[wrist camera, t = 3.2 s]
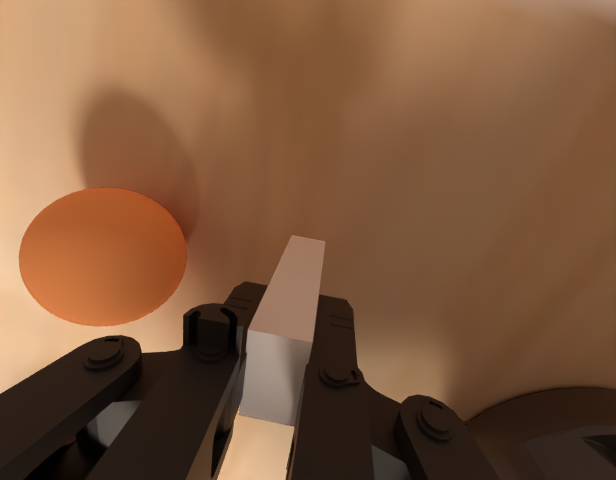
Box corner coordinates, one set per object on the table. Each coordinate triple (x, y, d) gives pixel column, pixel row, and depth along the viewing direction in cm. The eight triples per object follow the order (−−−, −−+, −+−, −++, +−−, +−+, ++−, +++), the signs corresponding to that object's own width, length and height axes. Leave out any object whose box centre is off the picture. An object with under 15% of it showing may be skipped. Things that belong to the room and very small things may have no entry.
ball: (229, 234, 15) (166, 290, 10) (169, 304, 17) (85, 384, 12) (135, 153, 14) (5, 162, 9) (82, 235, 16) (-54, 286, 11)
